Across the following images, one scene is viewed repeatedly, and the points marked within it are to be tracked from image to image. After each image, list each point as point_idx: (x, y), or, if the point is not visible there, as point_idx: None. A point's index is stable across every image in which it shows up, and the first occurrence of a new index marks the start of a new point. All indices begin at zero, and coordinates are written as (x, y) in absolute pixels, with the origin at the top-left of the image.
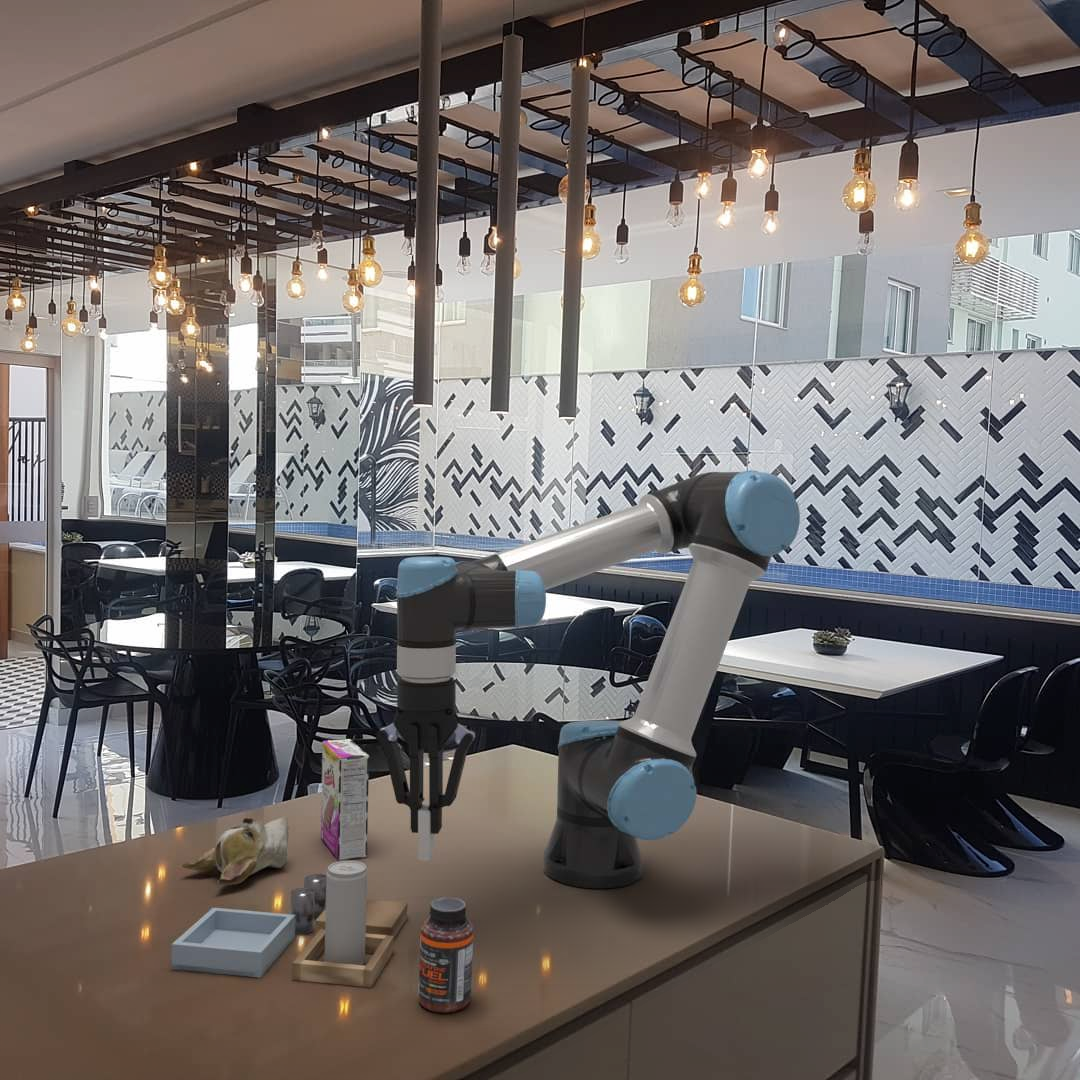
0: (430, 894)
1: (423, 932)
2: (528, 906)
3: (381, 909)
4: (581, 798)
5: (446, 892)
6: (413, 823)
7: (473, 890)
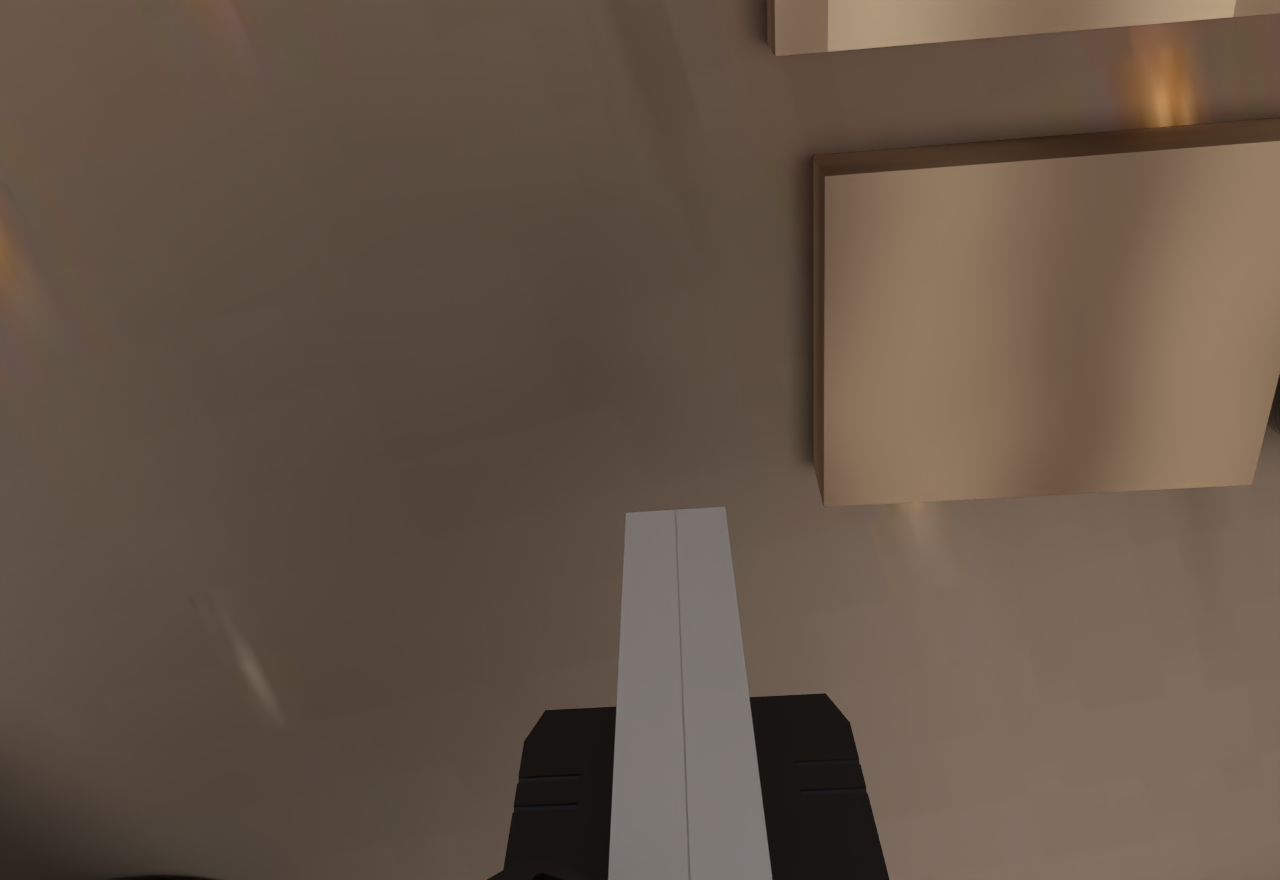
0: None
1: None
2: (309, 695)
3: (948, 397)
4: None
5: None
6: (827, 773)
7: None
